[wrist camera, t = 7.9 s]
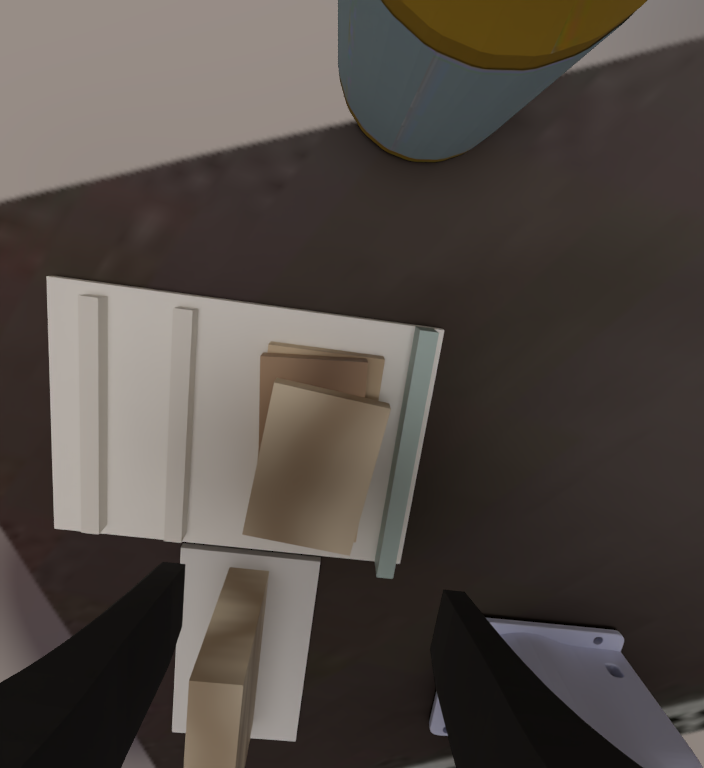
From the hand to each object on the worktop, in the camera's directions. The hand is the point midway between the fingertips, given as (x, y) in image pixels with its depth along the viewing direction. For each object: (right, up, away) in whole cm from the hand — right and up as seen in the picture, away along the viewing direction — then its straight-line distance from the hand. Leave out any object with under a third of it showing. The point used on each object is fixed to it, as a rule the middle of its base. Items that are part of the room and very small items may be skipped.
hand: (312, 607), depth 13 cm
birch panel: (-5, -8, +12) cm, 15 cm away
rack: (-4, +4, +9) cm, 11 cm away
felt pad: (-5, -8, +12) cm, 15 cm away
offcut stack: (-1, +3, +9) cm, 9 cm away
